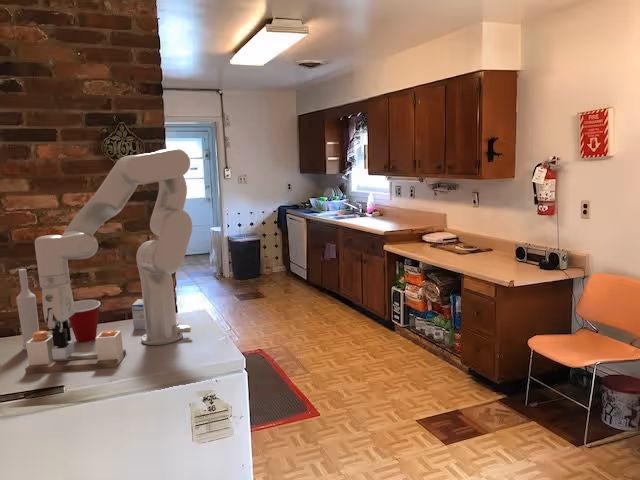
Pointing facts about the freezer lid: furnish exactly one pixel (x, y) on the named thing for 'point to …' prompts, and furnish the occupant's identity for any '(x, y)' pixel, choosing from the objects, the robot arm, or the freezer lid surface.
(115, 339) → the pair of ball holders
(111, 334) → the ball
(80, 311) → the plastic cup
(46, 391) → the freezer lid surface
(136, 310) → the medicine box
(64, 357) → the carriage
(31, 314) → the bottle
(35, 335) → the gauge button
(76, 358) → the rail board
